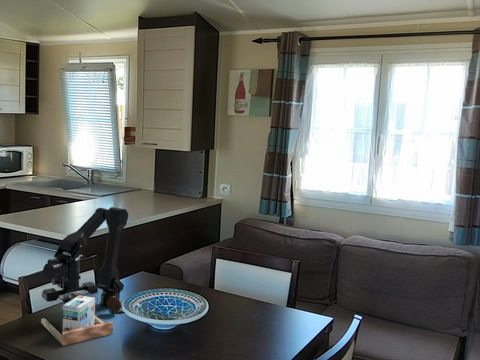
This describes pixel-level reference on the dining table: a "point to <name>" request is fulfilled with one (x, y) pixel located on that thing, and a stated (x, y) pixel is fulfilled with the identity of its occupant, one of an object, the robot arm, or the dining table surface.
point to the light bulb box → (78, 313)
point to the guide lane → (80, 332)
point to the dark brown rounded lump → (114, 304)
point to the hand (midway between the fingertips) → (70, 313)
